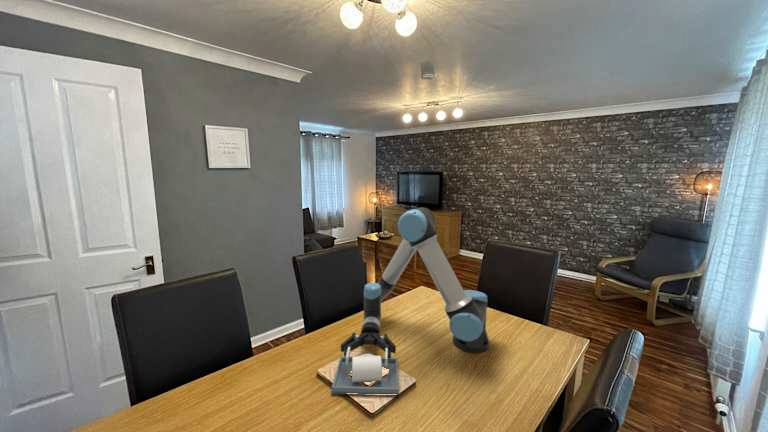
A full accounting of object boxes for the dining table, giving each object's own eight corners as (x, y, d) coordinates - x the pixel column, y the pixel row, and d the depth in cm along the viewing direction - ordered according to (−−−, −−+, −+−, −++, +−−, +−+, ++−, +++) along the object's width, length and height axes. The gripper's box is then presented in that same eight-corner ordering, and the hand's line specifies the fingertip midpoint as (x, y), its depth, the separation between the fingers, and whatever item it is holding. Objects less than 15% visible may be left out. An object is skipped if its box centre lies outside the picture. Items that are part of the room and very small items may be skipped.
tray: (397, 364, 115) (397, 358, 115) (398, 396, 99) (398, 389, 98) (340, 362, 116) (340, 356, 116) (331, 394, 99) (331, 387, 99)
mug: (381, 386, 102) (382, 364, 101) (352, 388, 101) (352, 366, 100) (379, 364, 114) (379, 344, 112) (352, 365, 113) (352, 345, 112)
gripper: (400, 339, 124) (402, 372, 103) (340, 337, 125) (330, 370, 104) (401, 322, 123) (403, 352, 102) (340, 320, 124) (330, 350, 103)
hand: (366, 361), depth 103 cm, fingers open, 13 cm apart
